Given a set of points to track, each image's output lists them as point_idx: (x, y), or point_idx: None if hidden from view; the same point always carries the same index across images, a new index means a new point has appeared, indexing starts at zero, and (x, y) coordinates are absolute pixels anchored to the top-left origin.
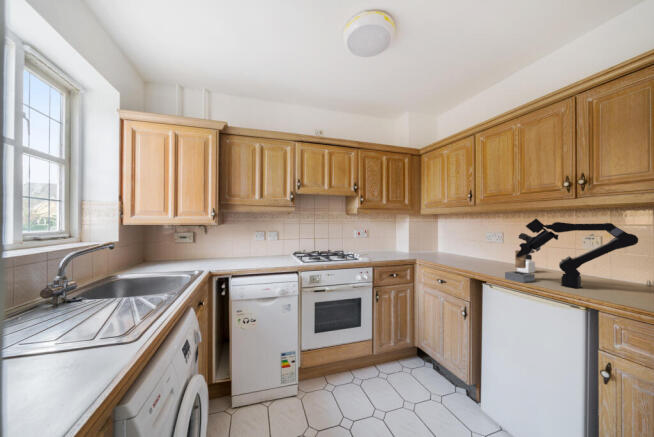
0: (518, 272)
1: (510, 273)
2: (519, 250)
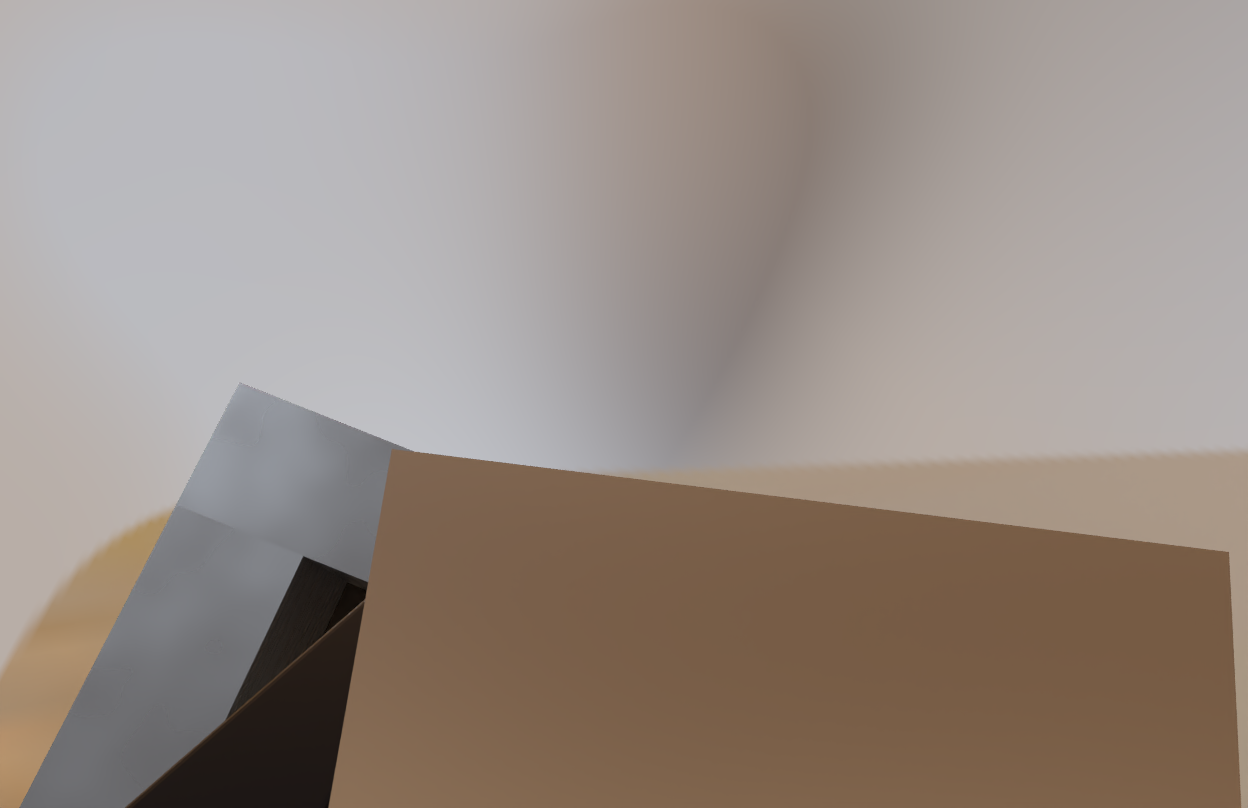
0: None
1: (155, 552)
2: (1091, 781)
